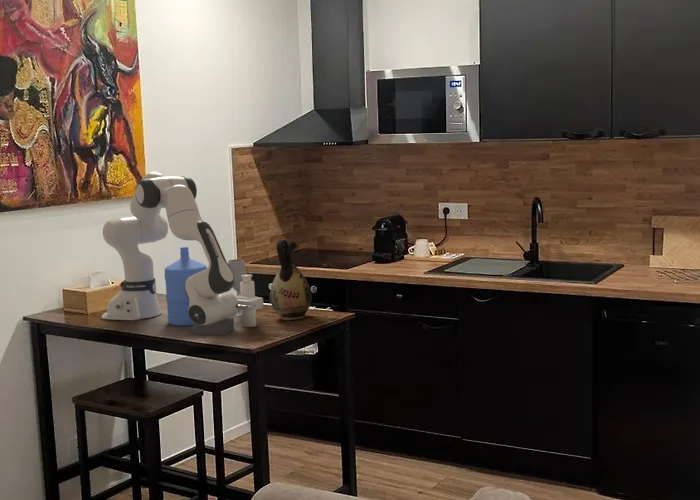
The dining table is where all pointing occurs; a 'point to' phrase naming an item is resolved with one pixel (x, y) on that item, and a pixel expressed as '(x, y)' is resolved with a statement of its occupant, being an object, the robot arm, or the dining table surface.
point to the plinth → (214, 327)
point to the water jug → (180, 288)
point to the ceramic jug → (289, 286)
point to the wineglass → (237, 275)
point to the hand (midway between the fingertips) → (249, 297)
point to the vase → (249, 290)
